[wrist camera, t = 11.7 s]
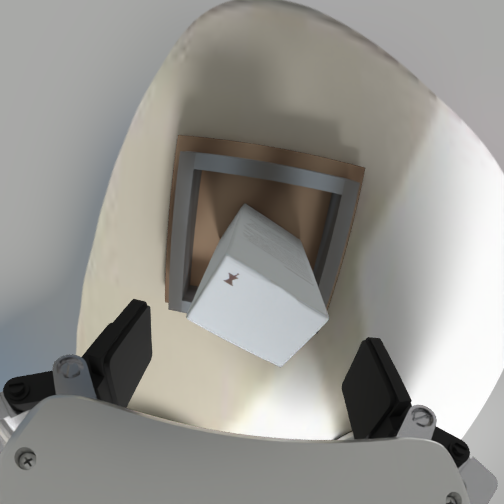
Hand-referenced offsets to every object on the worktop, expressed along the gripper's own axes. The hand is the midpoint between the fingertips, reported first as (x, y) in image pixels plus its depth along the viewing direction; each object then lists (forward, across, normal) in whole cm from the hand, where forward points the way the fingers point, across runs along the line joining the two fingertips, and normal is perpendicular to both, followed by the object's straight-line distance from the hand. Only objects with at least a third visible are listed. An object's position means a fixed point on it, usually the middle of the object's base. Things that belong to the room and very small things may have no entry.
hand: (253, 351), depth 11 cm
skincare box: (+14, 0, -1) cm, 14 cm away
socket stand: (+15, 0, -1) cm, 15 cm away
